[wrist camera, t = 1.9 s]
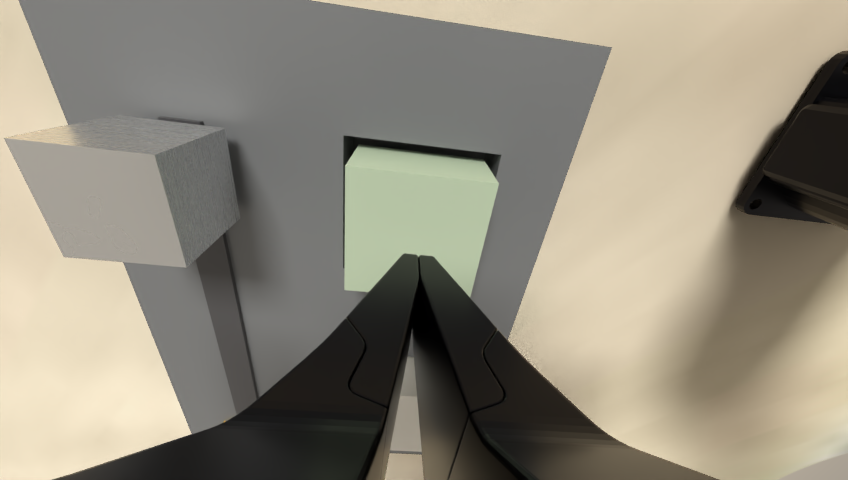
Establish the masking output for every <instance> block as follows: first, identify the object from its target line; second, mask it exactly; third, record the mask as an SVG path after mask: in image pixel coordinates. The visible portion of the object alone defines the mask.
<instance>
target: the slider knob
mask: <svg viewBox="0 0 848 480" xmlns="http://www.w3.org/2000/svg"><path fill="white" fill-rule="evenodd" d="M4 139H5V141H6V143H7V145H8V147H9V149H10V151H11V153H12V155H13V157H14V159H15V161H16V163H17V165H18V167H19V169H20V171H21V173H22V175H23V177H24V179H25V181H26V183H27V185H28V187H29V189H30V191H31V193H32V195H33V197H34V199H35V201H36V203H37V205H38V207H39V209H40V211H41V213H42V215H43V217H44V219H45V221H46V223H47V225H48V227H49V229H50V231H51V233H52V235H53V237H54V239H55V240H56V242H57V244H58V246H59V248H60V250H61V252H62V254H63V256H64V257H70V258H82V259H93V260H105V261H116V262H128V263H139V264H150V265H162V266H173V267H185V268H187V267H188V266H189V265H190V264H191V263H192V262H193V261H194V260H196V259H197V258H198V257H199V256H200V255H201V254H202V253H203V252H204V251H205V250H206V249H207V248H208V247H210V246H211V245H212V244H213V243H214V242H215V241H216V240H217V239H218V238H219V237H220V236H221V235H223V234H224V233H225V232H226V231H227V230H228V229H229V228H230V227H231V226H232V225H233V224H234V223H235V222H237V221H238V220H239V219H240V213H239V207H238V201H237V195H236V190H235V184H234V178H233V172H232V166H231V160H230V154H229V148H228V143H227V137H226V131H225V128H220V127H212V126H204V125H196V124H187V123H179V122H171V121H163V120H155V119H146V118H138V117H130V116H122V115H115V116H110V117H106V118H101V119H96V120H91V121H86V122H81V123H76V124H71V125H66V126H61V127H56V128H51V129H46V130H41V131H36V132H31V133H26V134H21V135H16V136H11V137H6V138H4Z"/></svg>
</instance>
